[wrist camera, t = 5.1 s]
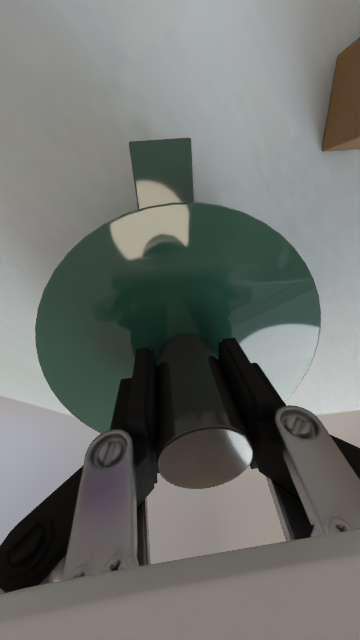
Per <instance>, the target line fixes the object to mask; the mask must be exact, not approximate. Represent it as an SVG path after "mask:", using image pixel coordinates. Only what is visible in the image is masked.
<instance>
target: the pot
mask: <svg viewBox="0 0 360 640" xmlns="http://www.w3.org/2000/svg"><path fill="white" fill-rule="evenodd" d="M129 148H130V155H131V162H132V169H133V176H134V183H135V190H136V197H137V204H138V210H139V209H142V208H145V207H149V206H155V205H161V204H168V203H187V202H194V198H193V174H192V151H191V138H177V139H162V140H146V141H131V142H129Z"/></svg>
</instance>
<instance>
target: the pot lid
mask: <svg viewBox="0 0 360 640" xmlns="http://www.w3.org/2000/svg"><path fill="white" fill-rule="evenodd" d="M320 323H321V311H320V303H319V296H318V293H317V289H316V286H315V283H314V280H313V277H312V275H311V273H310V271H309V269H308V267H307V265H306V263H305V262H304V261H303V259H302V258H301V256H300V255H299V254H298V252H297V251H296V249H295V248H294V247H293V246H292V245H291V244H290V243H289V242H288V241H287V240H286V239H285V238H284V237H283V236H282V235H281V234H279V233H278V232H277V231H275V230H274V229H272V228H271V227H270V226H268V225H267V224H265V223H264V222H262V221H260V220H258V219H256V218H254V217H252V216H250V215H248V214H246V213H243V212H240V211H237V210H234V209H230V208H227V207H224V206H219V205H212V204H205V203H198V202H187V203H168V204H161V205H155V206H149V207H145V208H142V209H139V210H136V211H133V212H130V213H126V214H124V215H122V216H120V217H118V218H116V219H114V220H111V221H109V222H107V223H105V224H103V225H102V226H100V227H99V228H97V229H96V230H95V231H93V232H92V233H90V234H89V235H87V236H86V237H84V238H83V239H82V240H81V241H80V242H79V243H78V244H77V245H76V246H75V247H74V248H73V249H72V250H71V251H70V252H68V253H67V255H66V256H65V257H64V259H63V260H62V261H61V262H60V264H59V265H58V266H57V268H56V269H55V270H54V272H53V274H52V276H51V278H50V279H49V281H48V283H47V285H46V287H45V289H44V292H43V295H42V298H41V301H40V304H39V307H38V313H37V319H36V326H35V330H36V348H37V354H38V359H39V363H40V366H41V368H42V371H43V374H44V377H45V378H46V380H47V382H48V384H49V386H50V388H51V390H52V391H53V392H54V394H55V395H56V397H57V398H58V399H59V401H60V402H61V403H62V404H63V405H64V406H65V407H66V408H67V409H68V410H69V411H70V412H71V413H72V414H73V415H74V416H75V417H77V418H78V419H79V420H80V421H81V422H83V423H85V424H86V425H87V426H89V427H91V428H92V429H94V430H95V431H97V432H99V433H101V434H102V433H103V432H106V431H108V430H110V427H111V422H112V418H113V413H114V408H115V404H116V399H117V394H118V390H119V385H120V381H121V379H126V378H132V376H133V369H134V362H135V355H136V349H139V348H149V350H153V351H154V357H155V364H156V465H157V469H158V471H159V473H160V475H161V476H162V477H163V478H164V479H165V480H166V481H167V482H169V483H171V484H173V485H175V486H178V487H182V488H189V489H203V488H210V487H215V486H218V485H221V484H224V483H226V482H229V481H231V480H232V479H234V478H236V477H237V476H239V475H240V474H241V473H243V472H244V471H245V470H246V469H247V467H248V466H249V465H250V463H251V461H252V459H253V456H254V445H253V442H252V440H251V437H250V435H249V432H248V430H247V428H246V425H245V423H244V421H243V418H242V416H241V413H240V411H239V409H238V406H237V404H236V402H235V399H234V397H233V395H232V392H231V390H230V387H229V385H228V383H227V380H226V378H225V376H224V373H223V371H222V368H221V366H220V364H219V361H218V344H219V342H222V339H225V338H235V339H236V340H237V342H238V343H239V345H240V346H241V348H242V350H243V351H244V353H245V354H246V356H247V357H248V359H249V361H250V362H251V363H257V364H258V365H259V366H260V367H261V369H262V370H263V372H264V373H265V375H266V376H267V378H268V379H269V381H270V382H271V384H272V385H273V387H274V388H275V390H276V391H277V393H278V394H279V396H280V397H281V399H282V400H283V401H284V402H285V401H286V400H287V399H288V397H289V396H290V395H291V394H292V393H293V392H294V390H295V389H296V388H297V386H298V385H299V384H300V382H301V381H302V379H303V377H304V376H305V374H306V372H307V371H308V368H309V366H310V364H311V362H312V360H313V357H314V354H315V351H316V348H317V344H318V339H319V333H320Z"/></svg>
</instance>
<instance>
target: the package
mask: <svg viewBox="0 0 360 640" xmlns="http://www.w3.org/2000/svg"><path fill="white" fill-rule="evenodd" d="M348 149H360V37H359V38H358V39H357V40H356V41H354V42H353V43H352V44H351V45H350V46H349V47H348V48H346V49H345V50H344V51H343V52H342V53H341V54H339V55H338V59H337V65H336V71H335V77H334V83H333V89H332V95H331V100H330V106H329V112H328V118H327V124H326V130H325V136H324V142H323V148H322V151H334V150H348Z"/></svg>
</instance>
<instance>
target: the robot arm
mask: <svg viewBox="0 0 360 640" xmlns="http://www.w3.org/2000/svg"><path fill="white" fill-rule="evenodd" d="M218 361H219V364H220V366H221V368H222V371H223V373H224V376H225V378H226V380H227V383H228V385H229V387H230V390H231V392H232V395H233V397H234V399H235V402H236V404H237V406H238V409H239V411H240V413H241V416H242V418H243V421H244V423H245V425H246V428H247V430H248V432H249V435H250V437H251V440H252V442H253V445H254V456H253V459H252V461H251V463H250V467H251V469H254V468H258V469H259V472H261V473H262V474H264V475H265V476H266V478H267V482H268V485H269V488H270V492H271V495H272V498H273V501H274V504H275V507H276V510H277V513H278V517H279V520H280V523H281V526H282V529H283V533H284V536H285V539H286V542H280V543H274V544H268V545H262V546H256V547H250V548H244V549H238V550H232V551H226V552H221V553H215V554H209V555H203V556H197V557H191V558H186V559H180V560H174V561H168V562H162V563H157V564H151V563H150V546H149V527H148V510H147V496H148V495H149V494H150V492H151V491H152V490H153V489H154V484H155V483H157V473H159V471H158V469H157V465H156V364H155V357H154V351H153V350H149V348H139V349H136V355H135V362H134V369H133V376H132V378H126V379H121V381H120V385H119V390H118V394H117V399H116V404H115V408H114V413H113V418H112V422H111V427H110V430H108V431H106V432H103V433H102V434H100V435H99V436H97V437H96V438H95V439H94V440H93V441H92V443H91V444H90V446H89V447H88V450H87V452H86V455H85V460H84V465H83V466H82V467H81V468H80V469H79V470H78V471H77V472H75V473H74V474H73V475H72V476H71V477H70V478H69V479H68V480H66V481H65V482H64V483H63V484H62V485H61V486H60V487H59V488H58V489H57V490H55V491H54V492H53V493H52V494H51V495H50V496H49V497H48V498H46V499H45V500H44V501H43V502H42V503H41V504H40V505H39V506H37V507H36V508H35V509H34V510H33V511H32V512H31V513H29V514H28V515H27V516H26V517H25V518H24V519H23V520H22V521H20V522H19V523H18V524H17V525H16V526H15V528H14V529H13V530H12V531H11V532H10V533H9V534H8V536H7V537H6V539H5V540H4V542H3V543H2V544H1V545H0V640H360V448H358V447H356V446H354V445H351V444H349V443H347V442H345V441H343V440H341V439H339V438H336V437H334V436H332V435H330V434H329V433H328V431H327V430H326V428H325V427H324V425H323V424H322V422H321V421H320V420H319V419H318V418H317V416H315V415H314V414H313V413H311V412H310V411H308V410H306V409H304V408H301V407H298V406H290V405H289V406H286V404H285V403H284V401H283V400H282V399H281V397H280V396H279V394H278V393H277V391H276V390H275V388H274V387H273V385H272V384H271V382H270V381H269V379H268V378H267V376H266V375H265V373H264V372H263V370H262V369H261V367H260V366H259V365H258V364H257V363H251V362H250V361H249V359H248V357H247V356H246V354H245V353H244V351H243V350H242V348H241V346H240V345H239V343H238V342H237V340H236V339H235V338H225V339H222V342H219V344H218Z"/></svg>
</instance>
